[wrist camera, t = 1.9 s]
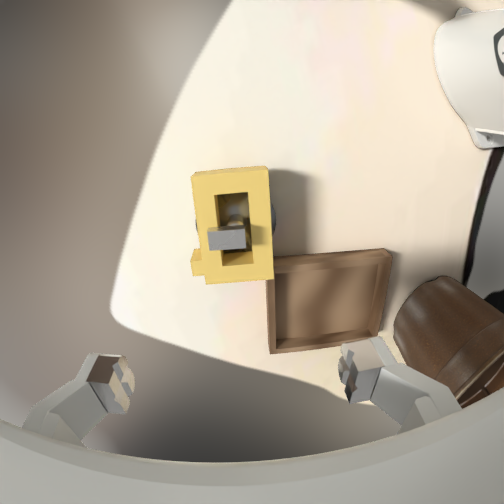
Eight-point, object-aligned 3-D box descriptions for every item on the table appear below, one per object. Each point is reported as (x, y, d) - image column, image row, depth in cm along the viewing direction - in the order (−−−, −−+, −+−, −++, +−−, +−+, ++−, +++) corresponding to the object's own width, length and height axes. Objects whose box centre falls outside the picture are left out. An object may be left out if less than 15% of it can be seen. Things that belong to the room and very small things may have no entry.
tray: (383, 248, 29) (392, 256, 27) (370, 328, 34) (376, 339, 32) (264, 257, 29) (266, 267, 27) (268, 341, 33) (269, 354, 31)
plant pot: (486, 277, 32) (554, 338, 17) (432, 361, 38) (477, 433, 23) (419, 244, 29) (512, 324, 15) (357, 351, 35) (401, 451, 20)
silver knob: (271, 176, 26) (281, 189, 20) (274, 247, 29) (283, 277, 23) (194, 182, 26) (182, 197, 20) (203, 252, 28) (195, 284, 23)
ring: (265, 165, 23) (268, 169, 21) (270, 265, 27) (273, 278, 25) (184, 173, 23) (177, 178, 21) (198, 271, 27) (194, 285, 25)
